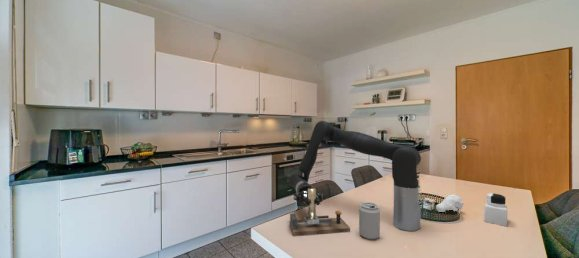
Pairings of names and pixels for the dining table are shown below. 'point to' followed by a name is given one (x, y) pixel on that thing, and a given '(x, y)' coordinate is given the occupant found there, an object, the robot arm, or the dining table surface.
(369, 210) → the can
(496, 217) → the medicine bottle
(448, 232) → the dining table surface
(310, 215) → the slider
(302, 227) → the track
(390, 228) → the dining table surface
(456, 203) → the white cloth bundle
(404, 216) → the robot arm
